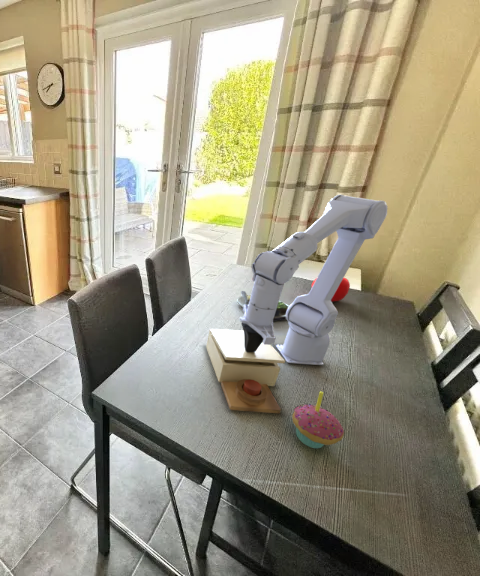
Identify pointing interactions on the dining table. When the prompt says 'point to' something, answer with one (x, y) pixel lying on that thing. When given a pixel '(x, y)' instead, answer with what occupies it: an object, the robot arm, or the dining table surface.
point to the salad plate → (280, 310)
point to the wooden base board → (249, 398)
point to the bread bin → (240, 367)
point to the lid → (235, 350)
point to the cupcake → (316, 425)
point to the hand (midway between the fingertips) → (249, 350)
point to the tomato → (340, 290)
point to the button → (252, 387)
